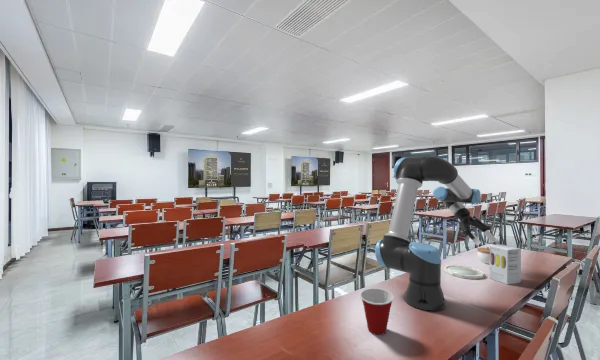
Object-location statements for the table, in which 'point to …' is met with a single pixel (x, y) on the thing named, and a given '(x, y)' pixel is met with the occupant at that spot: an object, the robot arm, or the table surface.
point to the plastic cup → (377, 308)
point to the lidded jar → (484, 254)
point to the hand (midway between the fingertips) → (487, 242)
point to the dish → (463, 271)
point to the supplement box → (505, 264)
